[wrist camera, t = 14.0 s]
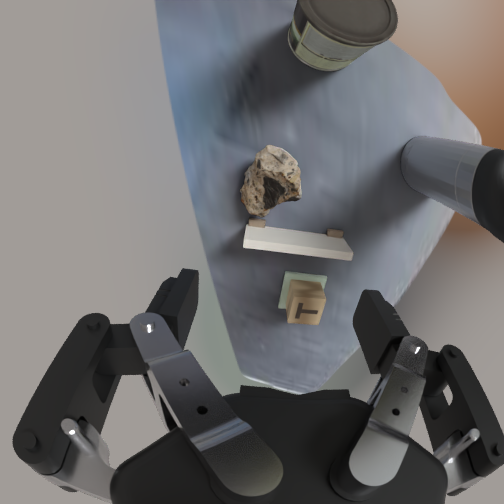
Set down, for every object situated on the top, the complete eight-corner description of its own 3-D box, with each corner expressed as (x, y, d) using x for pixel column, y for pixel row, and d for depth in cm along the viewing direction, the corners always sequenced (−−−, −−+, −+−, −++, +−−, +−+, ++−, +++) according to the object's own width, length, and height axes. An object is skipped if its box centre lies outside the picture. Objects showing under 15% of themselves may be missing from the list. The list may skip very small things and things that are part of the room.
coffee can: (272, 28, 28) (277, -18, 15) (331, 5, 26) (358, -39, 13) (312, 83, 32) (339, 58, 19) (369, 58, 29) (415, 32, 16)
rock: (299, 227, 39) (326, 183, 30) (253, 238, 37) (270, 192, 28) (275, 181, 42) (294, 134, 34) (232, 188, 40) (243, 138, 31)
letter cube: (320, 282, 44) (326, 299, 39) (313, 307, 46) (318, 325, 41) (290, 279, 44) (293, 296, 39) (285, 304, 46) (287, 323, 41)
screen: (343, 230, 41) (355, 246, 35) (339, 249, 42) (349, 267, 37) (247, 217, 40) (244, 231, 35) (245, 237, 42) (242, 254, 36)
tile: (326, 275, 44) (327, 277, 44) (316, 309, 47) (317, 311, 46) (285, 271, 44) (285, 272, 43) (278, 306, 47) (278, 308, 46)
